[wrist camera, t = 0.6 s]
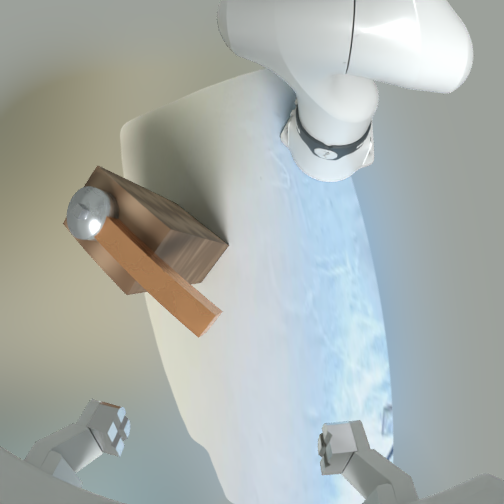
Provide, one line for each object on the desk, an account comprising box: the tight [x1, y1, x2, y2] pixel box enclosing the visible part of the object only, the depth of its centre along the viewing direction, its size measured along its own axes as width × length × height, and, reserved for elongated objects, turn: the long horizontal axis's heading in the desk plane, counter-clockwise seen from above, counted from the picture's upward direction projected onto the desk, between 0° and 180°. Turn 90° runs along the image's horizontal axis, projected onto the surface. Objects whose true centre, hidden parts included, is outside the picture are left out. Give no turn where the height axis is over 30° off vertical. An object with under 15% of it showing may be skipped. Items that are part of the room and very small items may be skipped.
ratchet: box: [67, 186, 223, 337], centre depth 28 cm, size 22×6×4 cm, turn 52°
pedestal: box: [63, 166, 229, 295], centre depth 44 cm, size 14×9×26 cm, turn 52°
